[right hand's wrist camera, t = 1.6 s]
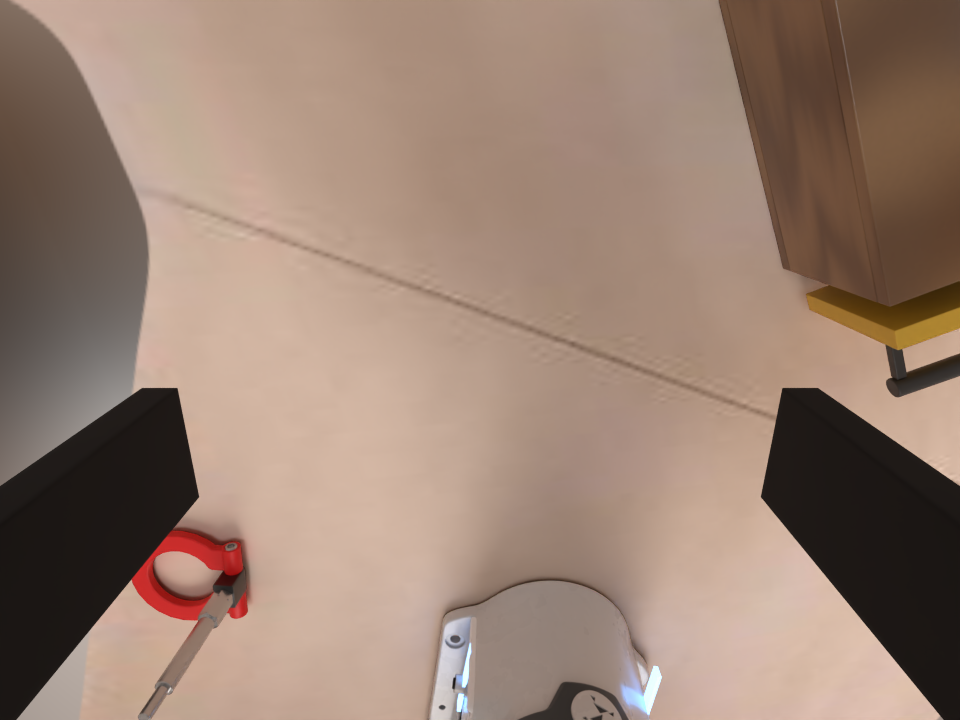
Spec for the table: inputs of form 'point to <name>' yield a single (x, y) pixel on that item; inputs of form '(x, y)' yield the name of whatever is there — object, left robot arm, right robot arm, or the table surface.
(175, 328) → the table surface
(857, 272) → the cabinet
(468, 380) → the table surface
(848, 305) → the drawer
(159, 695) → the tow hook
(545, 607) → the left robot arm
